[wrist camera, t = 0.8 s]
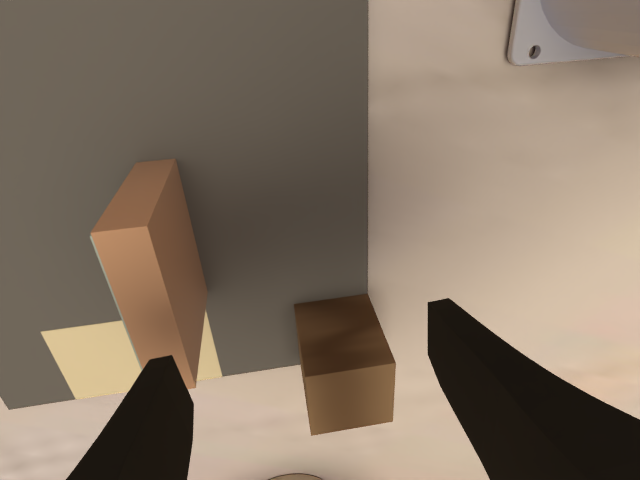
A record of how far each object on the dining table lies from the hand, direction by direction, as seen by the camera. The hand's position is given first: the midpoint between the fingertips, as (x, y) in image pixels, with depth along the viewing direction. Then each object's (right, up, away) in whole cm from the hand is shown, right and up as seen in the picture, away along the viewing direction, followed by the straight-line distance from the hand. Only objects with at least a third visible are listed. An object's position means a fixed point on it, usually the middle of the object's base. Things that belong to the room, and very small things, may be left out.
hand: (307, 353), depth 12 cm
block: (+1, -2, +12) cm, 12 cm away
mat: (-7, +4, +8) cm, 11 cm away
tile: (-6, +4, +7) cm, 10 cm away
